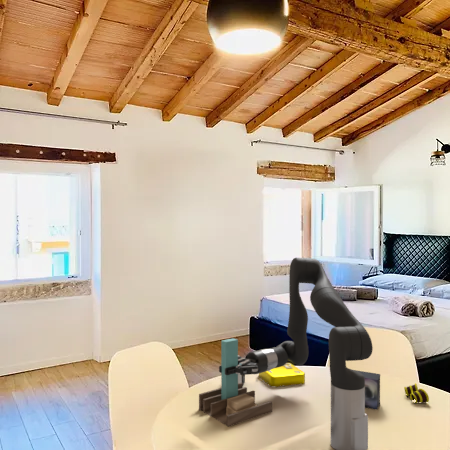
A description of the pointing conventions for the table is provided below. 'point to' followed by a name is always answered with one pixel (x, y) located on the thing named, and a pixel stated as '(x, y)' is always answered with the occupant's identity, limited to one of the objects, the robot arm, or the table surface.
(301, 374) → the element tile
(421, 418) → the table surface
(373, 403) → the small box
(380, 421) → the table surface
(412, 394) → the opera glasses
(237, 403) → the upper oak offcut
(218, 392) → the wooden rack
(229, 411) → the lower oak offcut
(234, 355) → the teal board
